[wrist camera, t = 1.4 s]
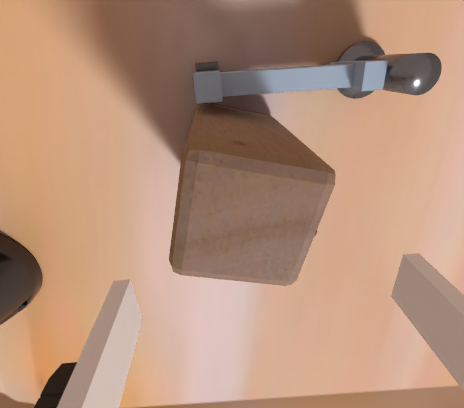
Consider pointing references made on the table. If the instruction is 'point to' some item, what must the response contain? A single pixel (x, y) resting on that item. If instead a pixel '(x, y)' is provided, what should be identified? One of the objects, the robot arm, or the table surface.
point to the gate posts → (396, 70)
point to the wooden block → (246, 198)
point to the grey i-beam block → (286, 79)
